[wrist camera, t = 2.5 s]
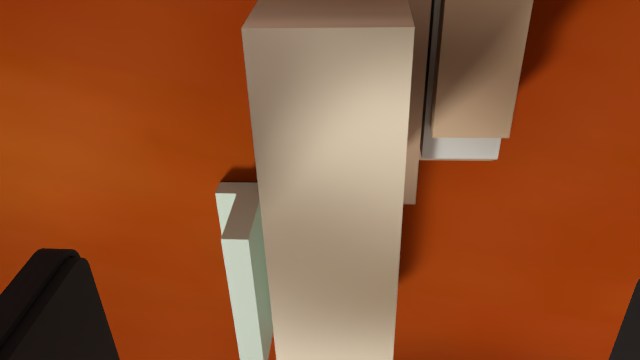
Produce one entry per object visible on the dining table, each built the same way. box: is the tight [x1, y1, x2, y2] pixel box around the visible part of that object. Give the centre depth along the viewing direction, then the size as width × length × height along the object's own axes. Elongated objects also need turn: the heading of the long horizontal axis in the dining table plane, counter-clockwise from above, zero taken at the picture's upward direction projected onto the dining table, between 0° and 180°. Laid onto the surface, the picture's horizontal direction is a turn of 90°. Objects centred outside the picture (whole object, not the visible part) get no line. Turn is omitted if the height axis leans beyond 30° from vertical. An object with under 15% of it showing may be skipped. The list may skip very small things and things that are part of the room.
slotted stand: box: [215, 182, 273, 360], centre depth 28 cm, size 9×8×4 cm
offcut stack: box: [420, 0, 533, 159], centre depth 20 cm, size 9×3×3 cm, turn 2°
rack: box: [403, 0, 493, 204], centre depth 21 cm, size 12×10×4 cm
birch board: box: [241, 0, 415, 360], centre depth 16 cm, size 9×2×14 cm, turn 2°
